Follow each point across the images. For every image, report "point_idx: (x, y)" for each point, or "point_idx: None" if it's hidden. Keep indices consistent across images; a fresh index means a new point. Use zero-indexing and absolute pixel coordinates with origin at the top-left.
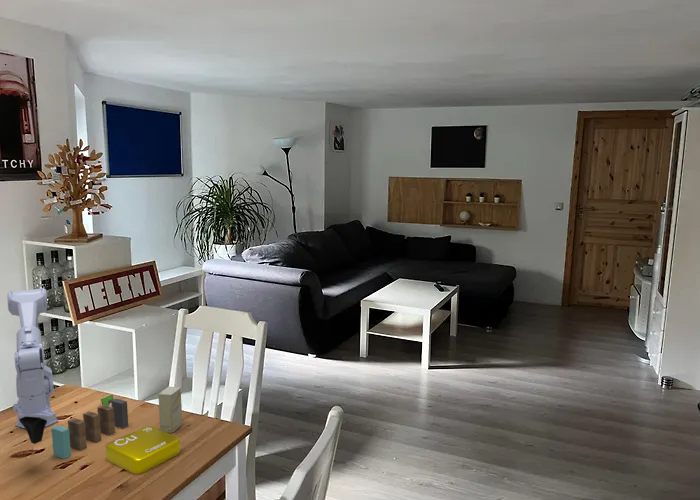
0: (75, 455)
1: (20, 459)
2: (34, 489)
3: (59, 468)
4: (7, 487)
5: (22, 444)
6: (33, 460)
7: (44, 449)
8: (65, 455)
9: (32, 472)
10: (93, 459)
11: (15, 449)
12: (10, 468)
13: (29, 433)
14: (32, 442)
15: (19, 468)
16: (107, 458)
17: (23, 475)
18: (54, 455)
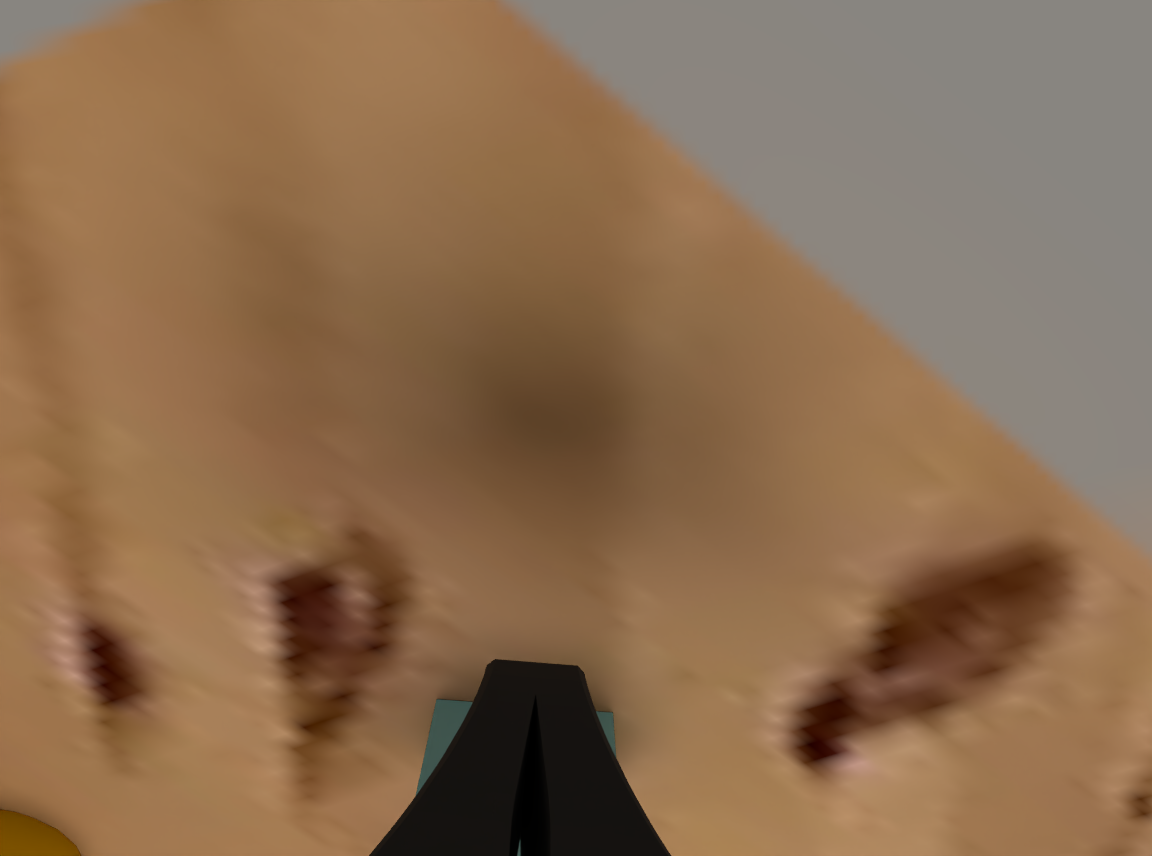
0: (397, 778)
1: (893, 543)
2: (152, 135)
3: (318, 560)
4: (508, 34)
5: (1115, 749)
6: (733, 577)
7: (802, 756)
8: (429, 735)
9: (524, 400)
10: (162, 784)
11: (1115, 662)
12: (849, 370)
13: (556, 792)
14: (544, 669)
15: (745, 408)
16: (5, 831)
17: (566, 316)
18: (596, 712)
